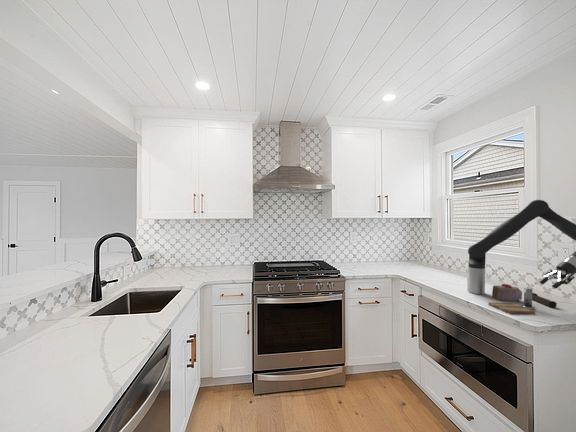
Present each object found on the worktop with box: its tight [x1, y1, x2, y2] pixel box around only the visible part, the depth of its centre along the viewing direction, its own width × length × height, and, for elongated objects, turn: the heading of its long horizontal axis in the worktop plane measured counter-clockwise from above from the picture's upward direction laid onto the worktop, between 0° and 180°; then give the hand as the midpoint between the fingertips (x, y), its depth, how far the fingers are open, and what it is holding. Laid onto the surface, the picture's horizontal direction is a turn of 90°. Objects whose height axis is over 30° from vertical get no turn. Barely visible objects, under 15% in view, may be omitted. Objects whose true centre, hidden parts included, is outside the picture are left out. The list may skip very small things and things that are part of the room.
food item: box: [491, 283, 523, 302], centre depth 162 cm, size 14×8×10 cm, turn 84°
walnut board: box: [488, 301, 536, 315], centre depth 145 cm, size 14×14×2 cm
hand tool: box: [532, 291, 558, 309], centre depth 157 cm, size 19×4×5 cm, turn 168°
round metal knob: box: [520, 287, 536, 311], centre depth 147 cm, size 6×6×11 cm
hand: (547, 285), depth 146 cm, fingers open, 8 cm apart
